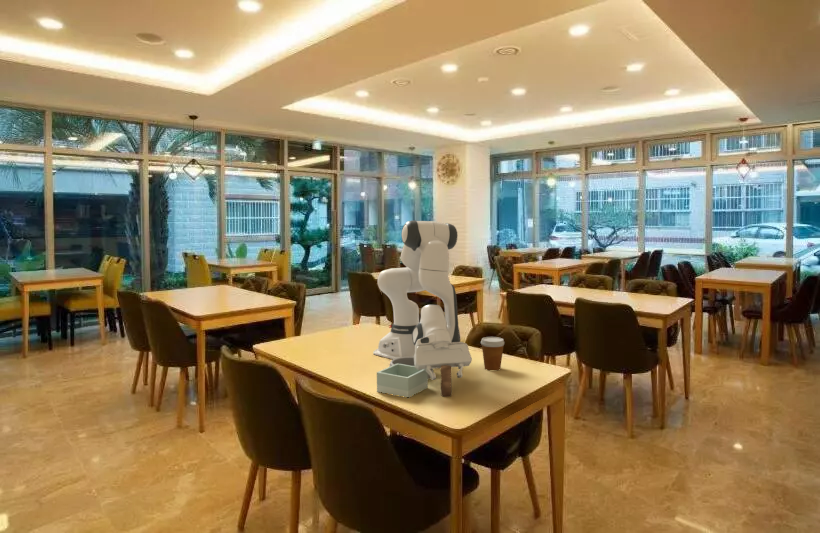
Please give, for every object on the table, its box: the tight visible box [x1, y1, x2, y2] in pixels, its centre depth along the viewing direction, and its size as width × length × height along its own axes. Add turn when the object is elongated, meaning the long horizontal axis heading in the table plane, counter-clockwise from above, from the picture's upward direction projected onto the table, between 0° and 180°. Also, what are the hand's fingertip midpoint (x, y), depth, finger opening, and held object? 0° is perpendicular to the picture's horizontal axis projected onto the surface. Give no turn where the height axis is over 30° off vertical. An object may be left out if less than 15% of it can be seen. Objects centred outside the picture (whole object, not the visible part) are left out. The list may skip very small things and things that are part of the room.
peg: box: [440, 365, 453, 398], centre depth 180 cm, size 4×4×10 cm
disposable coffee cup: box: [480, 336, 506, 371], centre depth 210 cm, size 10×10×12 cm
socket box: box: [376, 363, 429, 398], centre depth 186 cm, size 13×13×7 cm
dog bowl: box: [388, 357, 435, 380], centre depth 204 cm, size 17×18×5 cm
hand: (446, 377), depth 179 cm, fingers open, 8 cm apart
